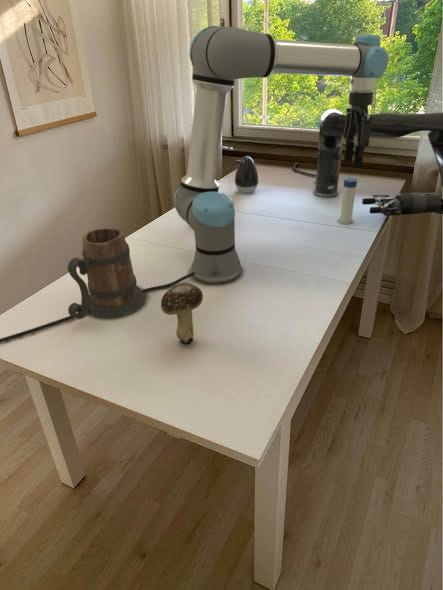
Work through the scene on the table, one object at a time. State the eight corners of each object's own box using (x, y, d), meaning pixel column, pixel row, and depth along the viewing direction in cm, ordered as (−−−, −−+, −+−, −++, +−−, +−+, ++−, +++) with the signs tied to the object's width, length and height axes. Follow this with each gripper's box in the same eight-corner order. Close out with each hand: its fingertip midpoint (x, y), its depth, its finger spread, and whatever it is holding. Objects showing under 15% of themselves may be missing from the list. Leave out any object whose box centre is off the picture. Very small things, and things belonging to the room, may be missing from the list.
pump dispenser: (230, 190, 197) (229, 155, 189) (251, 186, 201) (251, 151, 193) (241, 196, 189) (240, 161, 181) (262, 192, 193) (263, 157, 185)
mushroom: (205, 329, 111) (202, 278, 102) (206, 352, 103) (202, 298, 95) (168, 331, 110) (161, 279, 102) (165, 354, 103) (158, 300, 95)
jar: (346, 224, 162) (352, 183, 154) (337, 221, 164) (342, 180, 156) (353, 221, 164) (358, 180, 156) (344, 218, 167) (349, 178, 158)
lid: (351, 188, 154) (352, 182, 153) (340, 185, 157) (341, 179, 156) (358, 185, 157) (359, 179, 156) (348, 182, 160) (349, 176, 158)
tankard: (113, 279, 133) (101, 217, 123) (158, 293, 126) (149, 228, 115) (52, 320, 116) (32, 252, 106) (99, 339, 109) (83, 267, 98)
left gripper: (337, 87, 148) (330, 157, 160) (364, 96, 132) (355, 173, 144) (358, 86, 149) (350, 155, 162) (388, 94, 133) (376, 170, 145)
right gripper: (416, 221, 157) (370, 223, 157) (401, 206, 169) (358, 208, 169) (420, 201, 153) (374, 203, 153) (404, 187, 165) (361, 189, 165)
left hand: (352, 163), depth 153 cm, fingers open, 7 cm apart
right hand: (366, 205), depth 161 cm, fingers open, 8 cm apart
